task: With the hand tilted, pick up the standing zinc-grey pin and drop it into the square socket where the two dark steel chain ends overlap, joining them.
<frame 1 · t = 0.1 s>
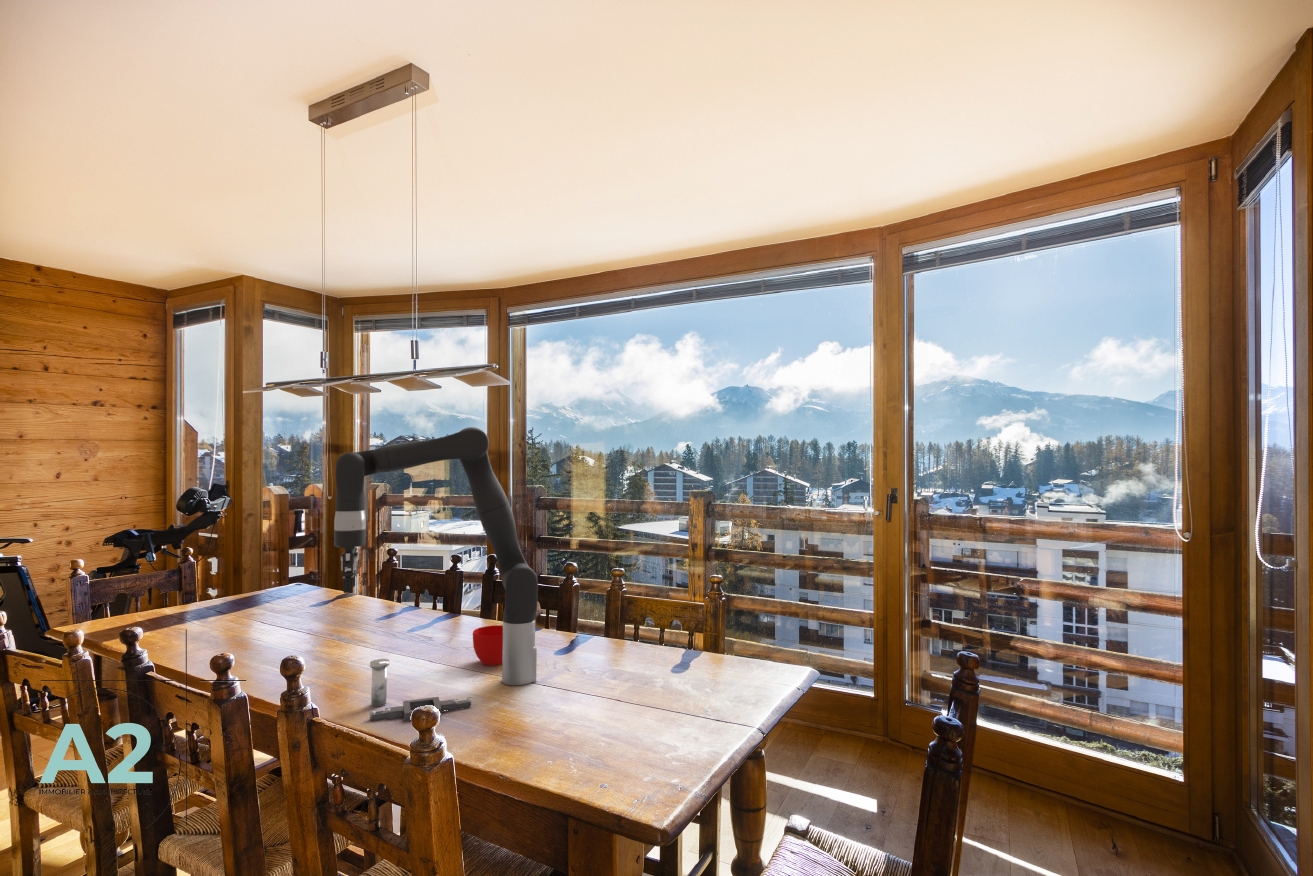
hand: (349, 589, 170), 29 cm above the table, tool pointing down, fingers open, 8 cm apart
ceramic cup: (497, 664, 202), on the table
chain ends: (421, 712, 162), on the table
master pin: (378, 704, 167), on the table
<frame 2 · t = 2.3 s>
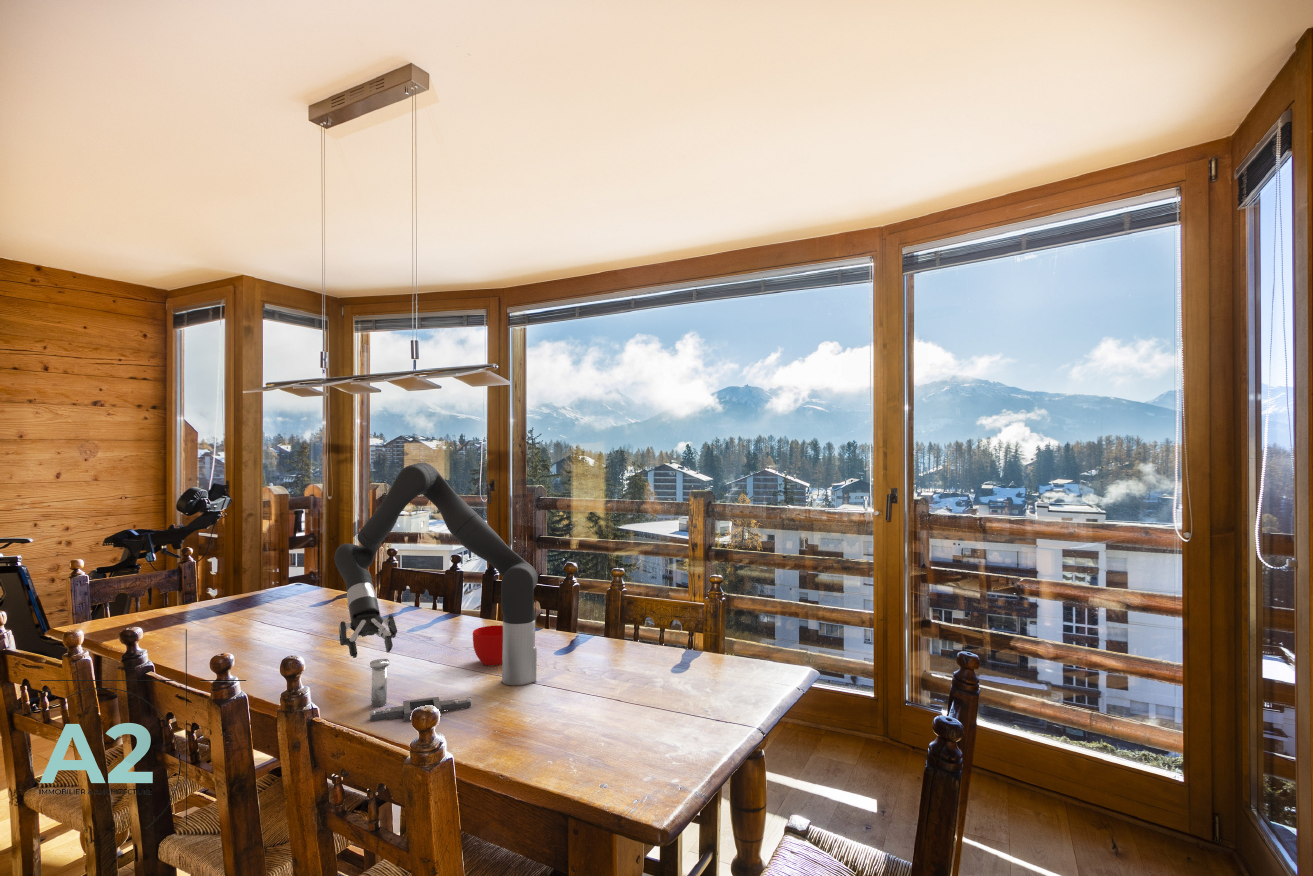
hand: (372, 653, 174), 11 cm above the table, tool tilted 45°, fingers open, 8 cm apart
nothing on the table moved.
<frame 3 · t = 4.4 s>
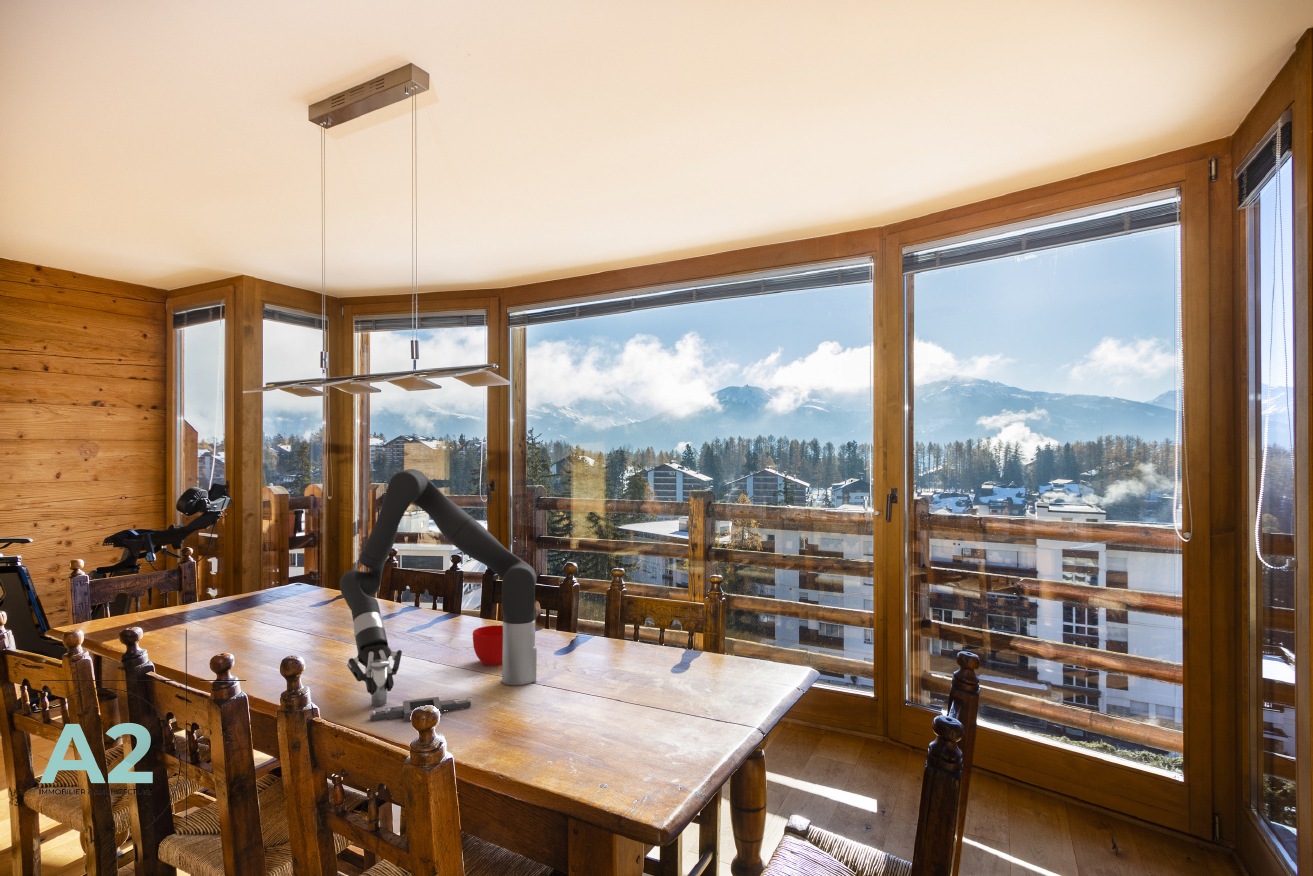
hand: (381, 690, 166), 4 cm above the table, tool tilted 45°, fingers closed on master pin, 3 cm apart
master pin: (378, 704, 167), on the table, touching gripper
everything else where it was.
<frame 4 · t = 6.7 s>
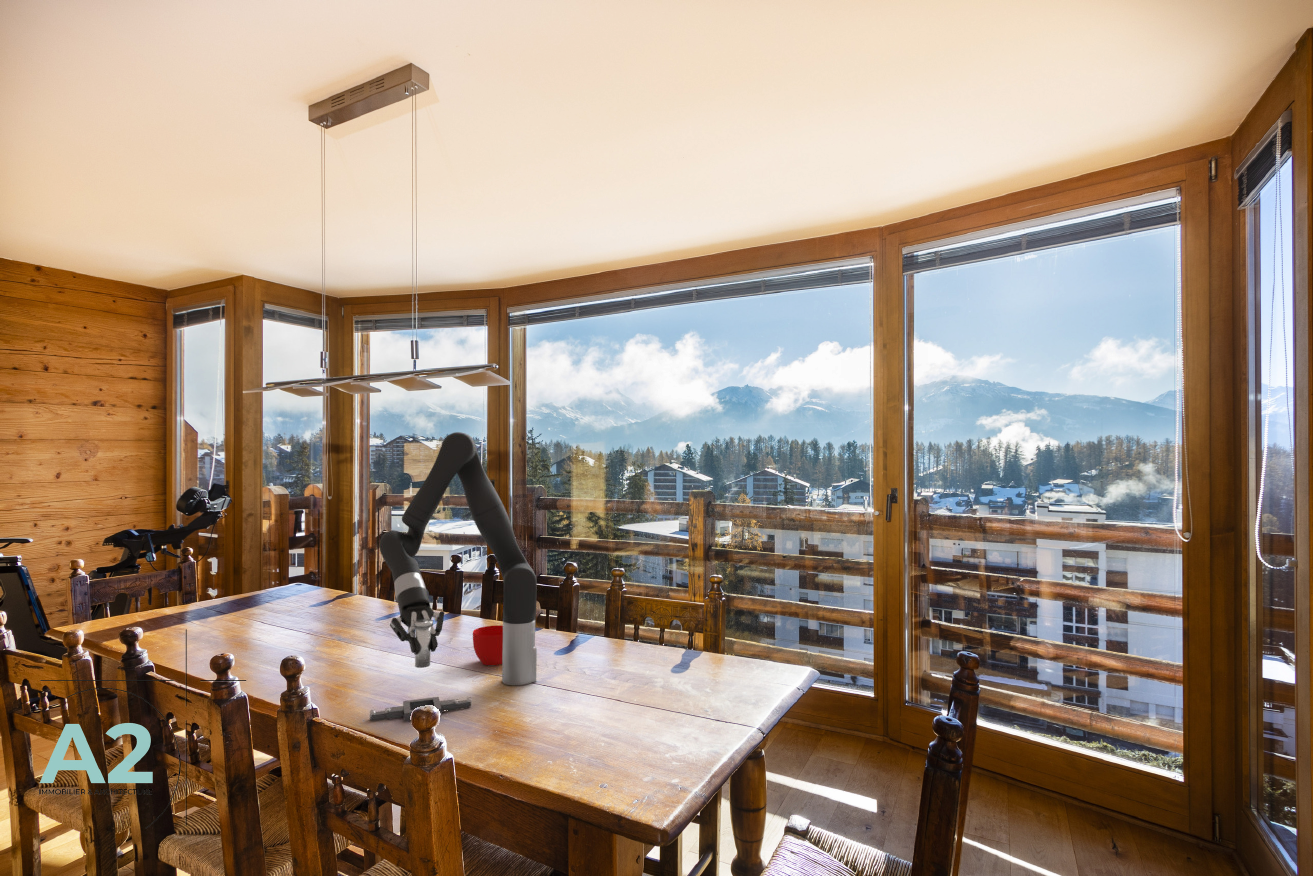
hand: (425, 651, 161), 16 cm above the table, tool tilted 45°, fingers closed on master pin, 3 cm apart
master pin: (422, 665, 162), point 12 cm above the table, touching gripper
everything else where it was.
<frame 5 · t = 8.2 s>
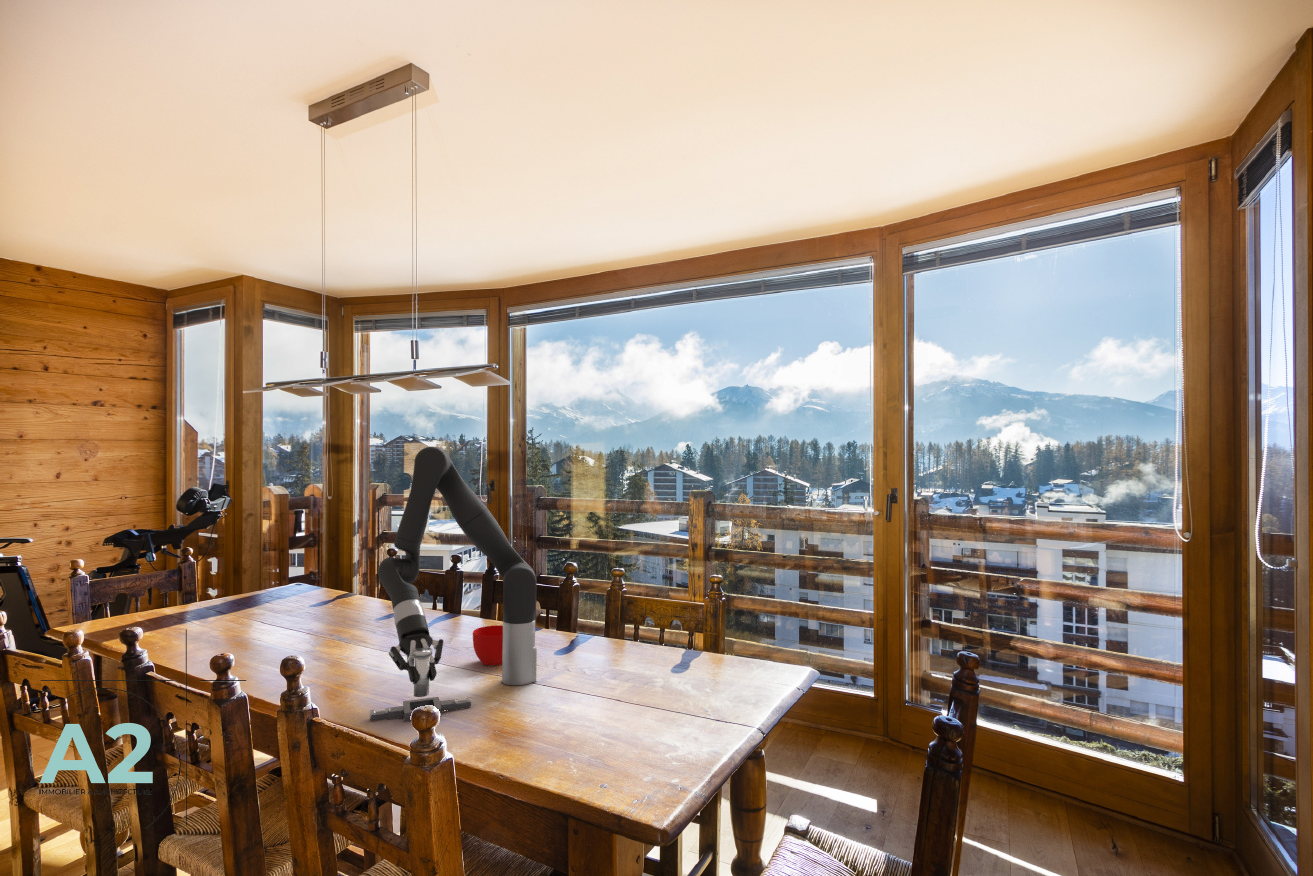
hand: (424, 680, 161), 9 cm above the table, tool tilted 45°, fingers closed on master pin, 3 cm apart
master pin: (421, 694, 162), point 5 cm above the table, touching gripper
everything else where it was.
when the fingers open (6 cm above the table, at t = 9.2 s): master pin drops 2 cm, resting in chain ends.
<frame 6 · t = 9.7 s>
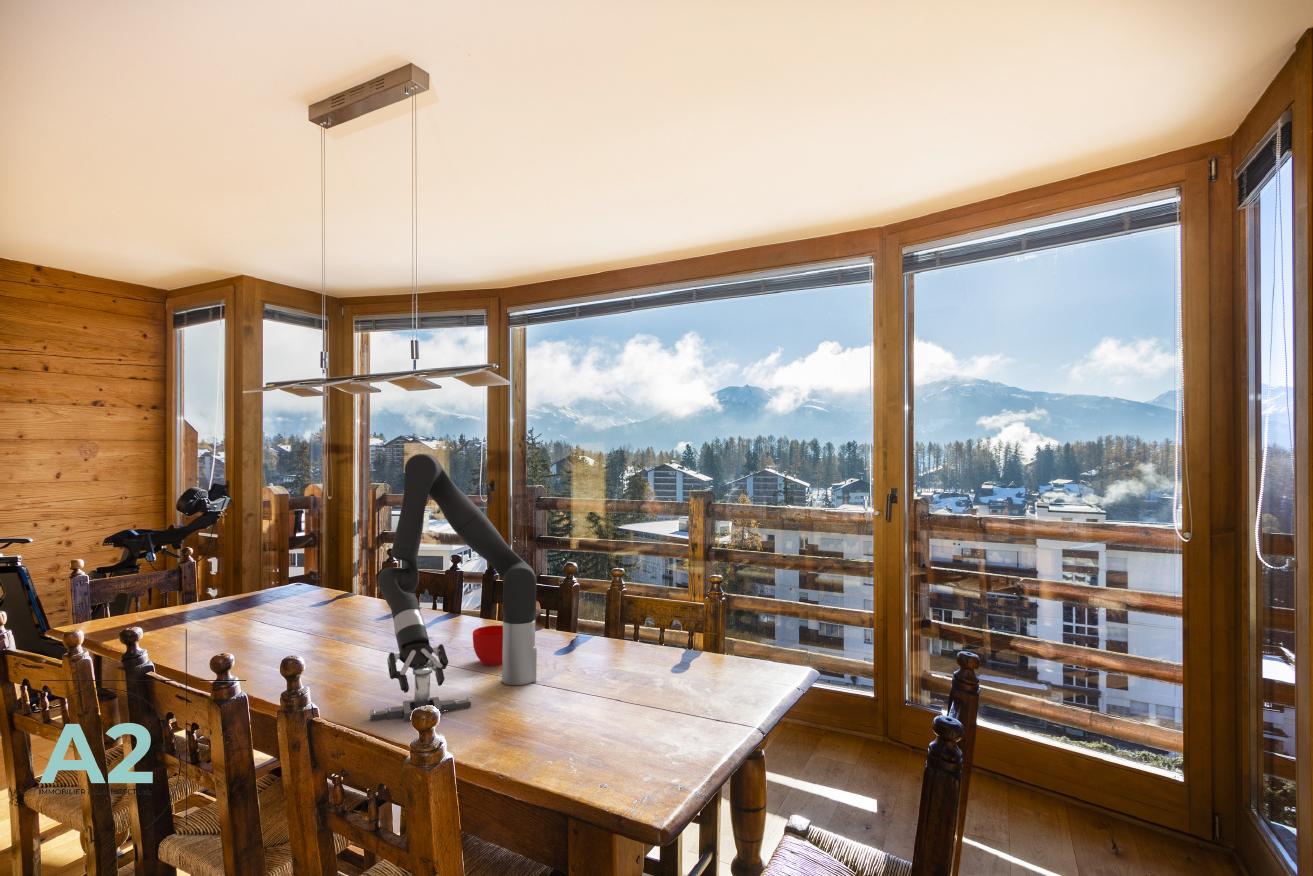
hand: (424, 687, 161), 7 cm above the table, tool tilted 45°, fingers open, 8 cm apart
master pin: (421, 712, 162), resting in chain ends
everything else where it was.
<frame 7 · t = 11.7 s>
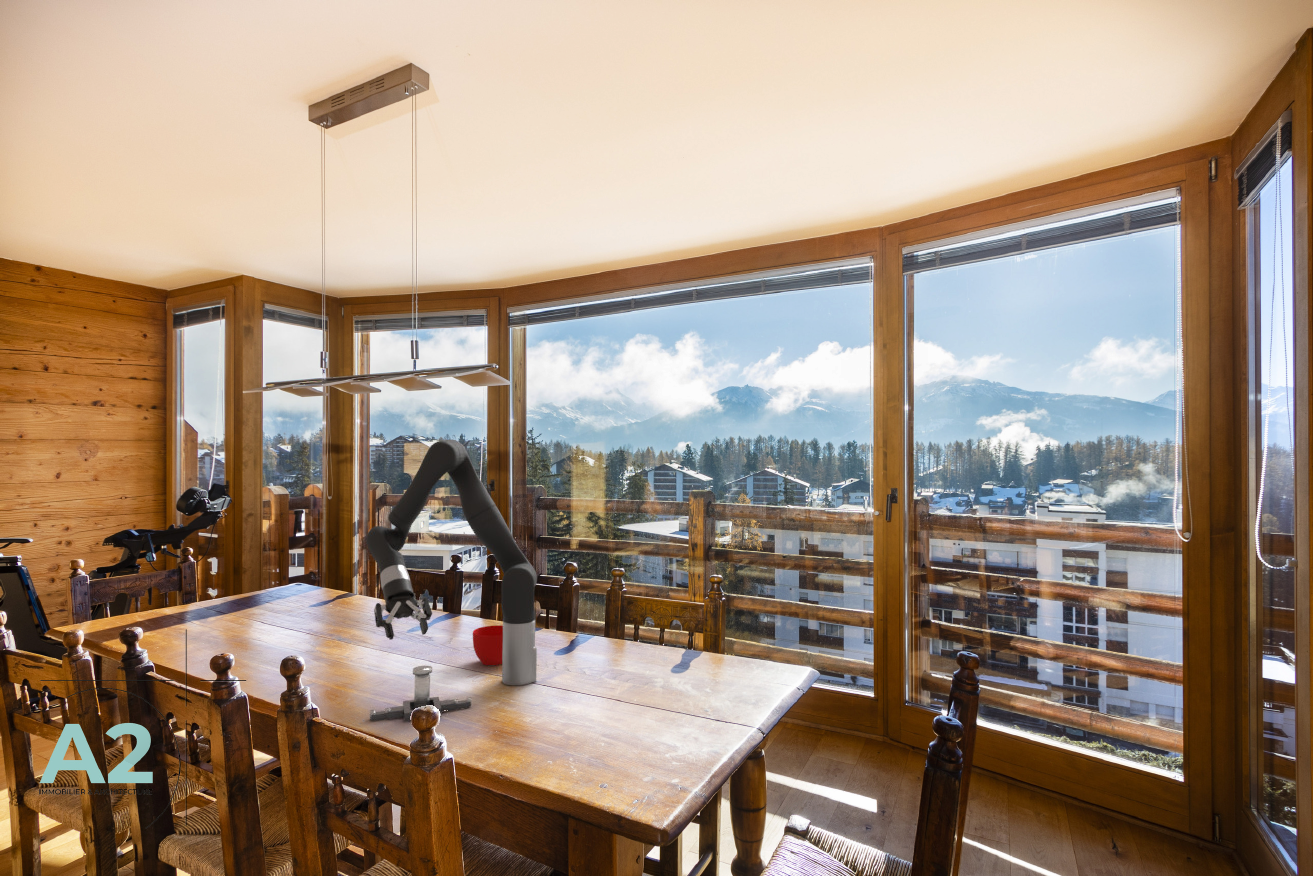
hand: (408, 635, 172), 17 cm above the table, tool tilted 45°, fingers open, 8 cm apart
nothing on the table moved.
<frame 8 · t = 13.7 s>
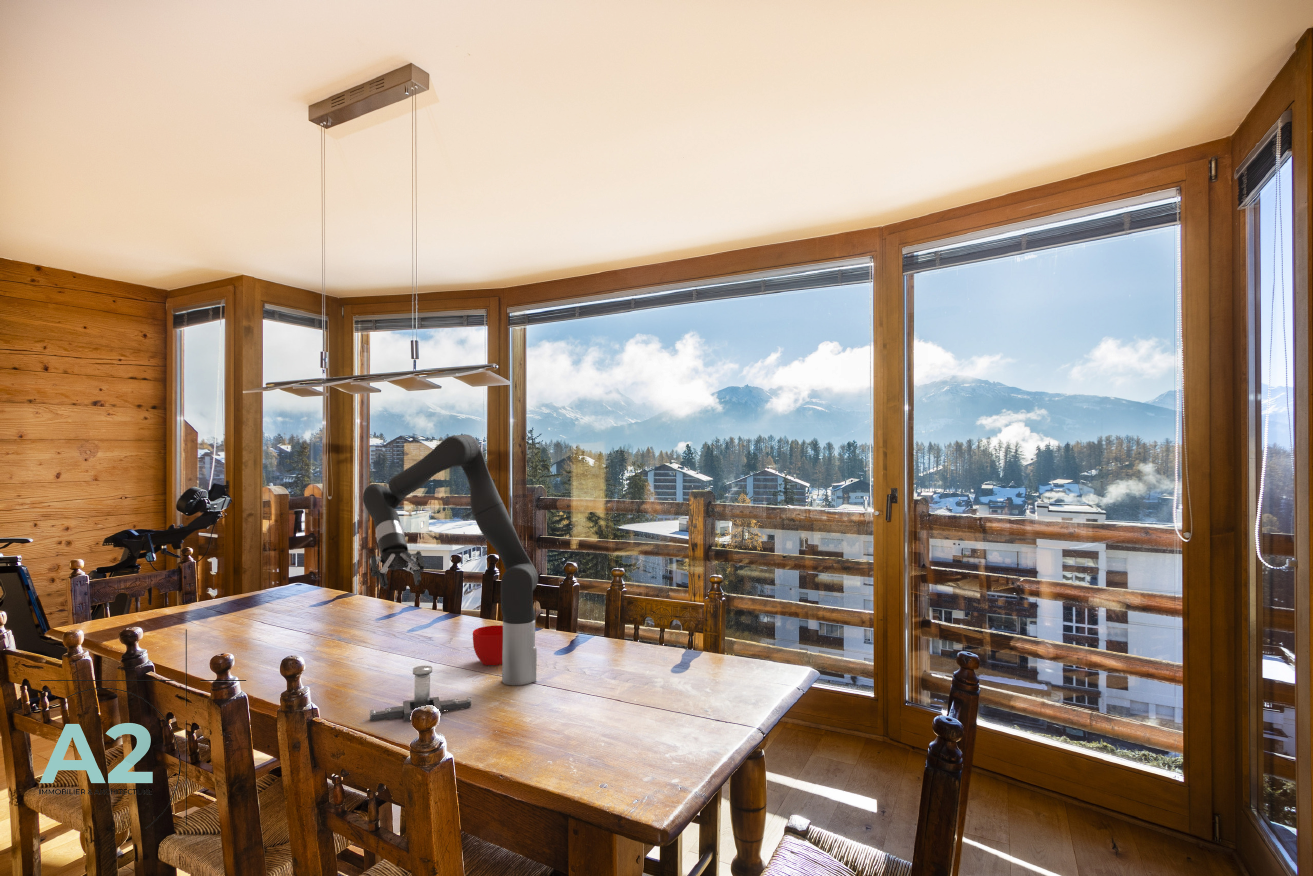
hand: (402, 585, 179), 29 cm above the table, tool tilted 45°, fingers open, 8 cm apart
nothing on the table moved.
at the end: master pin 0.1 cm off-centre on the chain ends, point 0.0 cm above the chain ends's base; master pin tilted 0°; the gripper is holding nothing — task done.
